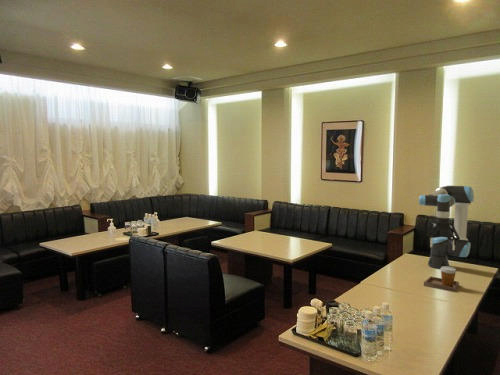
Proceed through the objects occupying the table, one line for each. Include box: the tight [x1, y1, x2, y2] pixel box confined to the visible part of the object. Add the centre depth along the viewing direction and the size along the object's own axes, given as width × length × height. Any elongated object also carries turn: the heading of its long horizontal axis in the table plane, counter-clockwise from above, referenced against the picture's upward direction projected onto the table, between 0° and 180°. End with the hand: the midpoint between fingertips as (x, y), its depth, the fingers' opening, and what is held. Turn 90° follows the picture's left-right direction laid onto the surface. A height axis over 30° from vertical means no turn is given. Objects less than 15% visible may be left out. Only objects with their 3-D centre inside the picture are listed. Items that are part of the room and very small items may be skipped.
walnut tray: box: [423, 276, 460, 293], centre depth 240 cm, size 16×18×2 cm
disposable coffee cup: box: [440, 265, 457, 287], centre depth 237 cm, size 10×10×12 cm
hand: (442, 248), depth 241 cm, fingers open, 13 cm apart
